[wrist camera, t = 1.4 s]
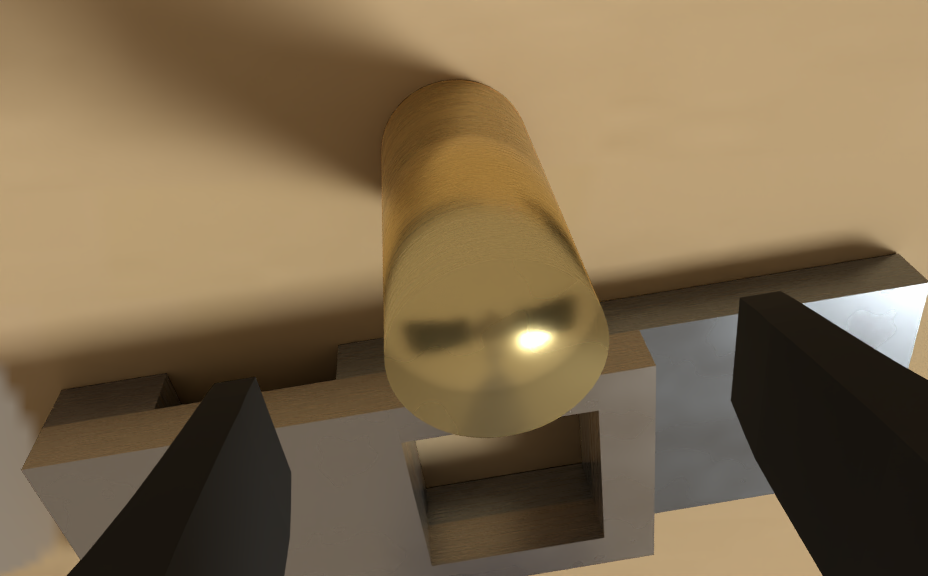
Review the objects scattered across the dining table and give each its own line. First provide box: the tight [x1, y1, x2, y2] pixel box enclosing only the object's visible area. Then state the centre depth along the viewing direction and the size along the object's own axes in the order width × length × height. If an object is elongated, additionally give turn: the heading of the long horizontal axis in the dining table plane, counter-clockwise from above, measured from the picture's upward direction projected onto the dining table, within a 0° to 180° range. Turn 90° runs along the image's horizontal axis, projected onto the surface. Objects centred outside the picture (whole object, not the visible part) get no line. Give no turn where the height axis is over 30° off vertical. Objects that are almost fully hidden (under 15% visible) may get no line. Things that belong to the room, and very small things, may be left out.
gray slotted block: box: [21, 254, 928, 576], centre depth 23 cm, size 24×8×3 cm, turn 97°
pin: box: [381, 80, 609, 438], centre depth 16 cm, size 4×4×8 cm
